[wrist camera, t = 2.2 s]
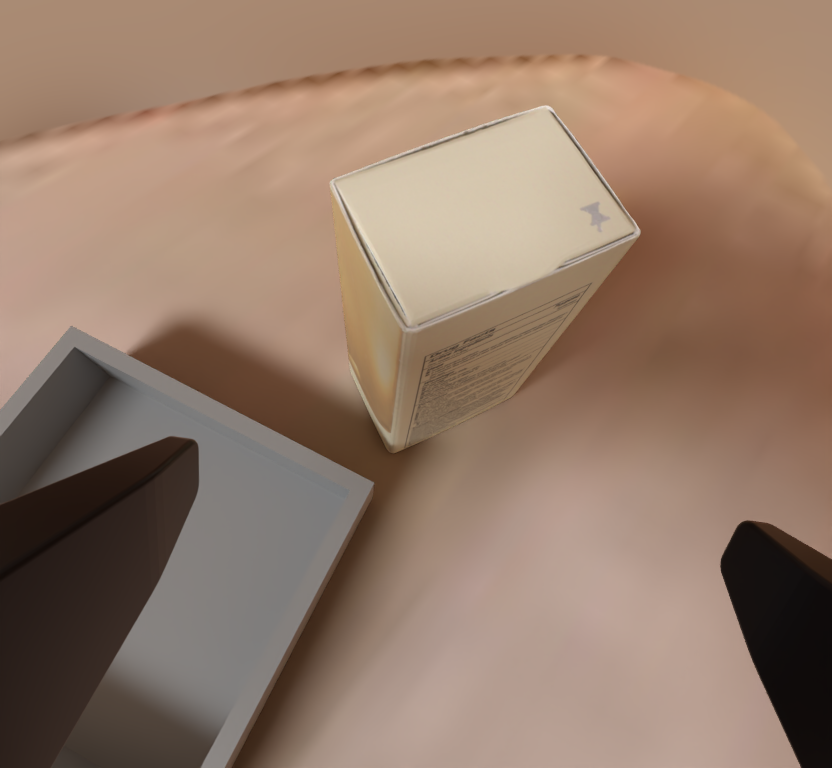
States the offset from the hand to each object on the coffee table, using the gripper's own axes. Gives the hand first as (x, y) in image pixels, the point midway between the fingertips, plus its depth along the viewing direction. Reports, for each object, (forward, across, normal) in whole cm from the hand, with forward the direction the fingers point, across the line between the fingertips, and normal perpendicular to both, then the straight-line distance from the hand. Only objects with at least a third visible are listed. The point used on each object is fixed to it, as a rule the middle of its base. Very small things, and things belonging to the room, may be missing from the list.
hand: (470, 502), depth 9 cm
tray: (+8, +9, +11) cm, 16 cm away
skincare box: (+14, 0, +5) cm, 15 cm away
